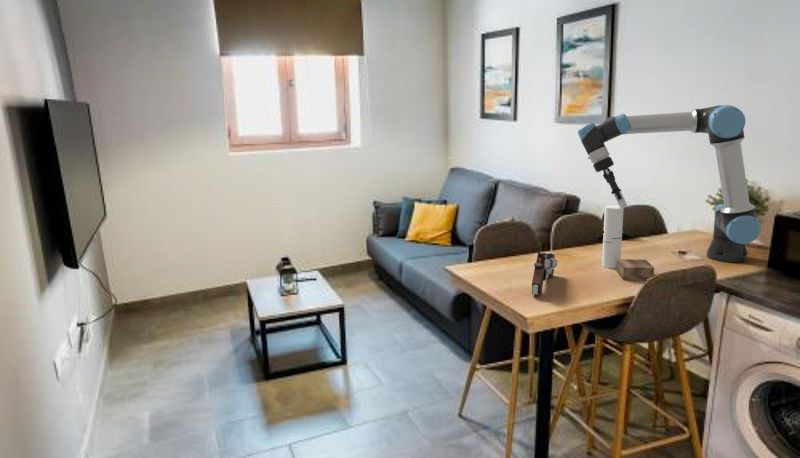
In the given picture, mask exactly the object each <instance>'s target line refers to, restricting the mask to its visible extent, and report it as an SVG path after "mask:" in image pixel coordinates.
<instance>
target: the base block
mask: <svg viewBox="0 0 800 458" xmlns="http://www.w3.org/2000/svg"><path fill="white" fill-rule="evenodd" d="M615 272H617V274H618V275H619V277H620V278H621V279H622V280H623V281H648V280H647V279H649V278H651V277H653V276H654V274H655V267H654V266H653V265H652V264H651V263H650V262H649V261H648V260H647V259H627V258H626V259H625V258H624V259H622V258H621V259H617V268H616V271H615Z"/></svg>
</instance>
